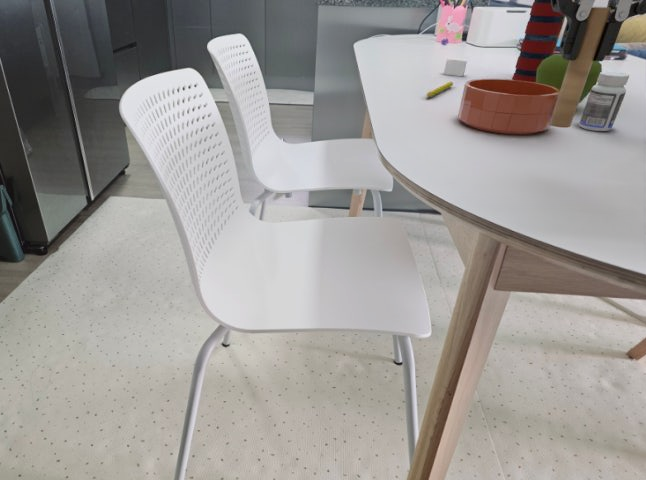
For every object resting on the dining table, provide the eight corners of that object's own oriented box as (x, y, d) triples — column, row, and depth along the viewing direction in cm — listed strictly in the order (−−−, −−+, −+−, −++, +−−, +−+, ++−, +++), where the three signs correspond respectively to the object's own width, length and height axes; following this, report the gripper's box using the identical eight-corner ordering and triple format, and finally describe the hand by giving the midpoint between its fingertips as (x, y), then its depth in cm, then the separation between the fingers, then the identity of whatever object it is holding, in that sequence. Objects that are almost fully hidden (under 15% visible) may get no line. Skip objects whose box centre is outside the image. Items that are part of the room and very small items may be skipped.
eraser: (444, 73, 122) (447, 58, 119) (463, 75, 120) (467, 59, 118) (443, 74, 121) (446, 58, 119) (462, 76, 119) (466, 60, 117)
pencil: (448, 86, 106) (448, 81, 106) (452, 86, 106) (453, 81, 105) (423, 98, 94) (424, 93, 94) (428, 99, 94) (429, 93, 93)
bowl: (533, 116, 83) (544, 80, 80) (561, 138, 72) (575, 97, 68) (451, 112, 85) (458, 77, 82) (465, 133, 73) (475, 93, 70)
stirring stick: (566, 123, 55) (606, 6, 49) (573, 128, 54) (615, 7, 47) (546, 122, 56) (583, 6, 49) (552, 127, 54) (592, 7, 47)
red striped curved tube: (541, 95, 100) (584, -46, 86) (506, 91, 103) (543, -46, 89) (548, 77, 118) (586, -41, 105) (519, 75, 121) (551, -41, 108)
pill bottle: (596, 123, 80) (616, 70, 75) (617, 131, 76) (640, 75, 71) (571, 124, 79) (590, 71, 74) (592, 132, 75) (613, 76, 71)
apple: (549, 114, 85) (568, 54, 80) (515, 101, 94) (530, 47, 88) (601, 113, 86) (624, 54, 81) (563, 100, 95) (581, 46, 90)
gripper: (586, -162, 39) (524, 63, 49) (771, -167, 37) (670, 67, 47) (555, -143, 45) (506, 53, 55) (713, -146, 44) (634, 57, 53)
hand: (582, 59), depth 51 cm, fingers closed on stirring stick, 2 cm apart
